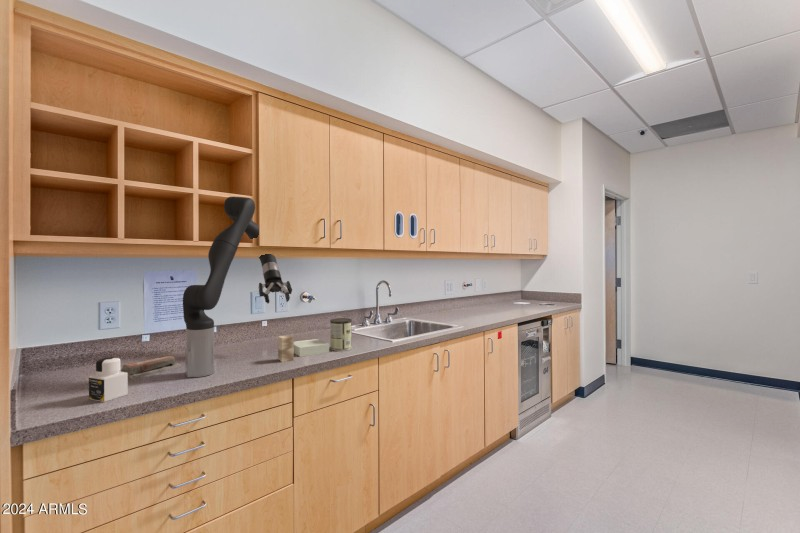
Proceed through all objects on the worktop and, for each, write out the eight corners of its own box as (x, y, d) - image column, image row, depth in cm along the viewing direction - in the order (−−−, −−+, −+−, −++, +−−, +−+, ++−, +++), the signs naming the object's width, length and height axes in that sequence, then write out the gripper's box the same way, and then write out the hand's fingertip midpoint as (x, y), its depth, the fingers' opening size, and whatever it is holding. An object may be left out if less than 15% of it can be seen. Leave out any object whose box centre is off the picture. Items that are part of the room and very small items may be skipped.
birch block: (282, 362, 161) (282, 338, 160) (278, 359, 165) (278, 336, 165) (293, 360, 163) (293, 337, 163) (289, 358, 168) (289, 335, 167)
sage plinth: (300, 356, 170) (300, 347, 170) (289, 350, 181) (289, 342, 181) (329, 352, 178) (329, 343, 178) (317, 346, 189) (317, 338, 189)
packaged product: (131, 367, 137) (117, 363, 142) (131, 380, 137) (117, 376, 142) (181, 356, 152) (167, 353, 157) (181, 368, 152) (167, 365, 157)
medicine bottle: (88, 399, 117) (88, 360, 117) (113, 392, 123) (112, 354, 123) (103, 402, 114) (103, 362, 114) (128, 394, 121) (128, 356, 121)
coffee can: (334, 345, 192) (334, 317, 192) (354, 346, 190) (354, 318, 190) (326, 350, 182) (326, 320, 181) (347, 351, 180) (347, 321, 180)
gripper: (256, 269, 175) (262, 298, 166) (288, 268, 182) (295, 295, 174) (254, 279, 180) (260, 308, 171) (285, 277, 187) (292, 304, 179)
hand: (278, 301), depth 172 cm, fingers open, 8 cm apart
